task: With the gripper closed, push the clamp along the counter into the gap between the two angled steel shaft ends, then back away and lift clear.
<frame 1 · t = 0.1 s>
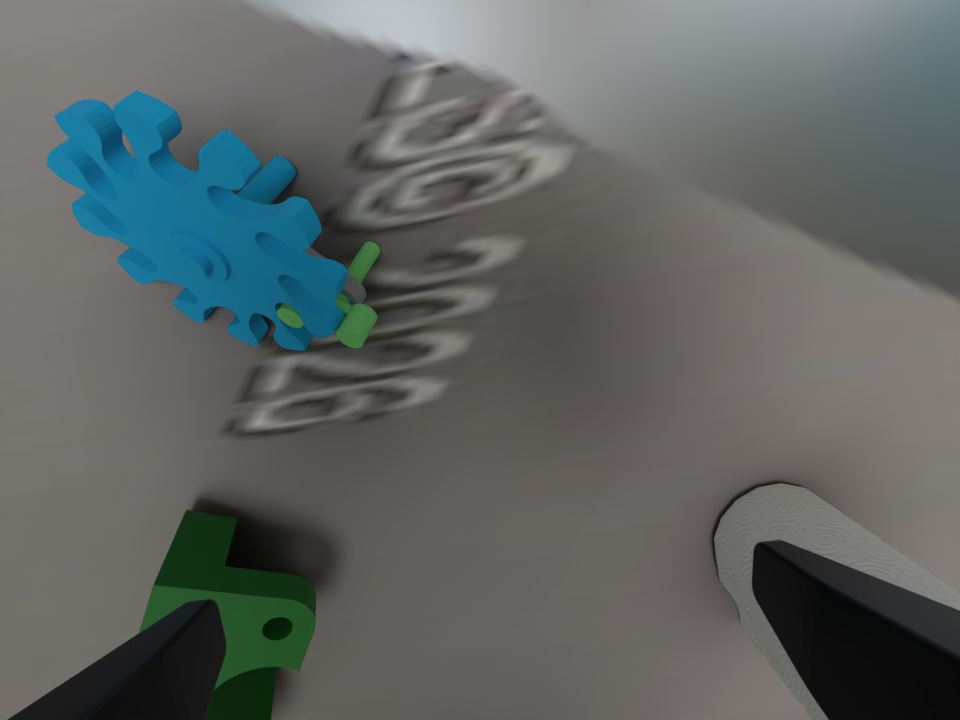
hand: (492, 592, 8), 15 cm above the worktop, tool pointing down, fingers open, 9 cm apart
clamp: (242, 609, 25), on the worktop
gear: (265, 252, 21), on the worktop
paper towel roll: (757, 540, 26), on the worktop
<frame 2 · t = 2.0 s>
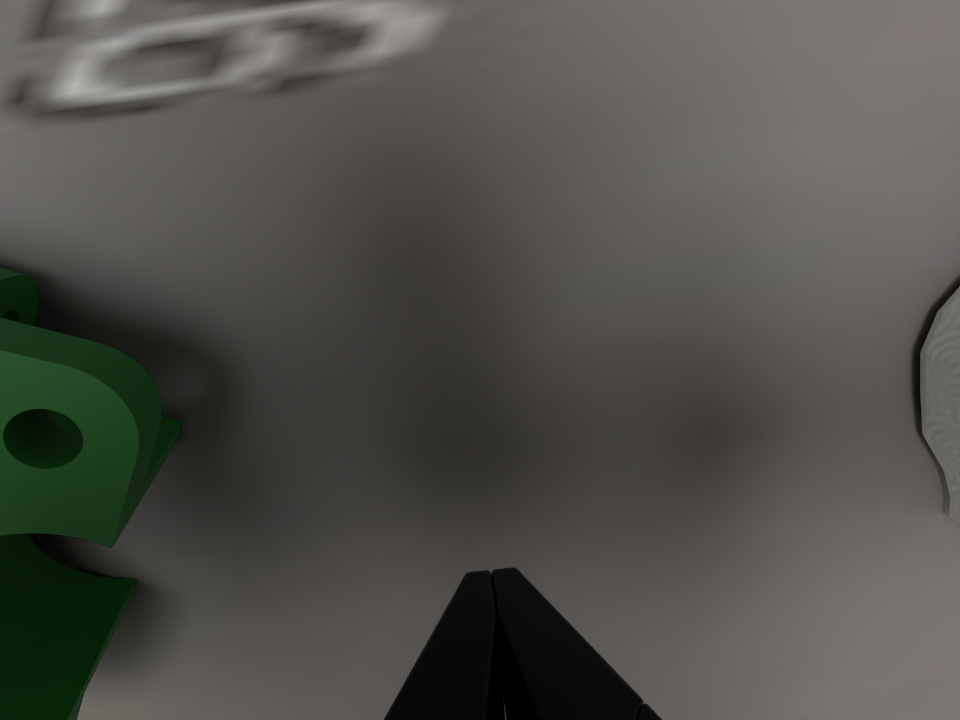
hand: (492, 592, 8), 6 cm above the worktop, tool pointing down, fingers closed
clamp: (70, 478, 14), on the worktop
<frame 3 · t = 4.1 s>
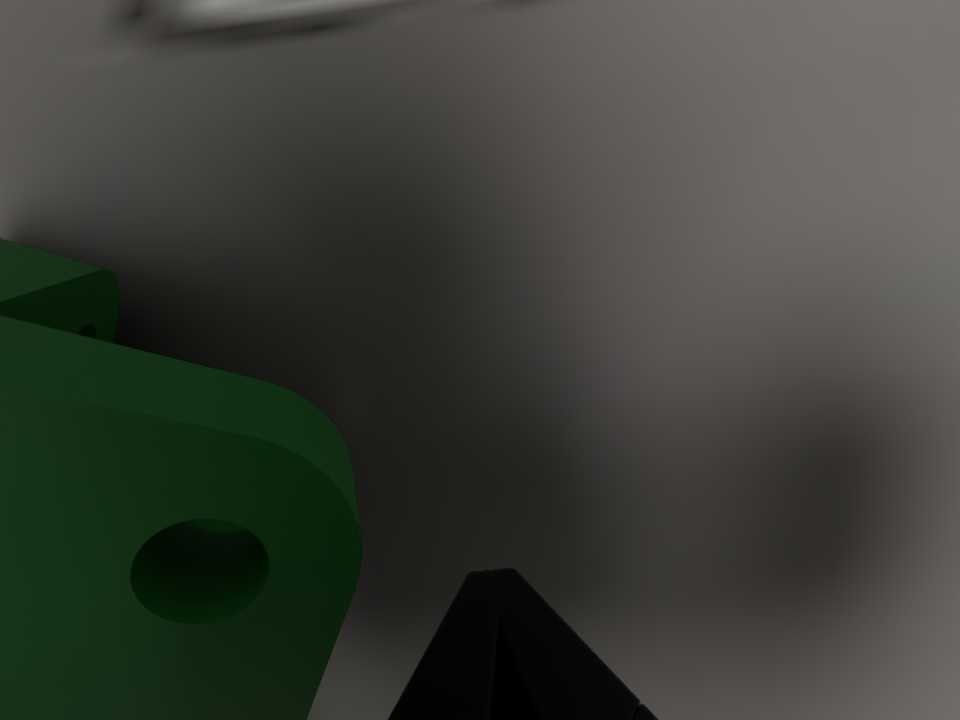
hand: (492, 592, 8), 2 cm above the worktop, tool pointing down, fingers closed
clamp: (154, 559, 10), on the worktop, touching gripper
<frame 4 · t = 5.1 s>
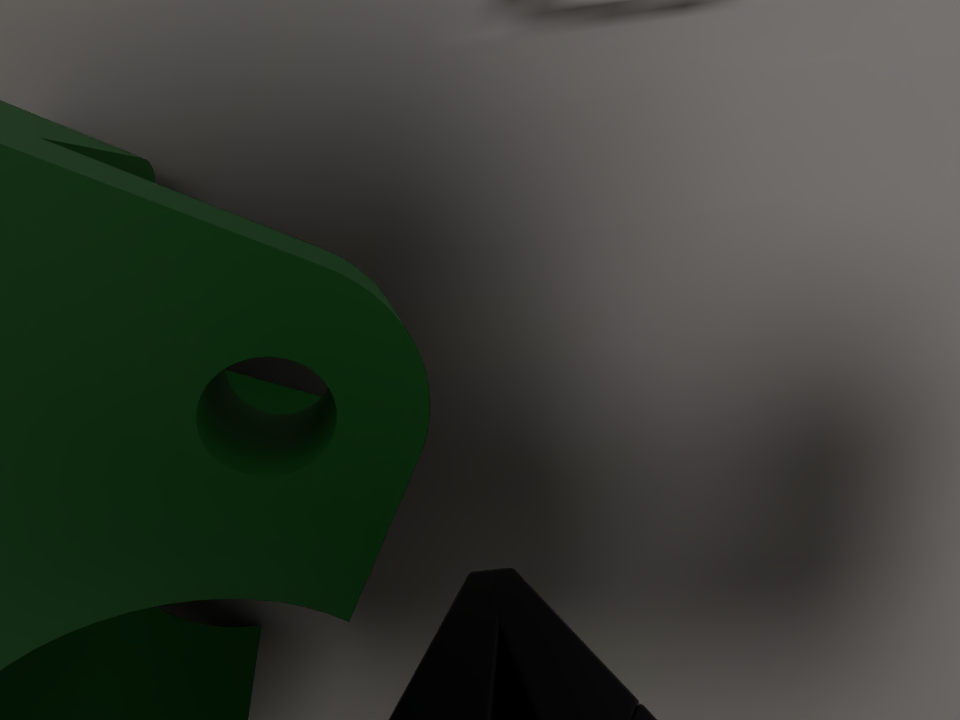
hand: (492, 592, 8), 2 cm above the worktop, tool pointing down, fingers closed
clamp: (175, 484, 10), on the worktop, touching gripper
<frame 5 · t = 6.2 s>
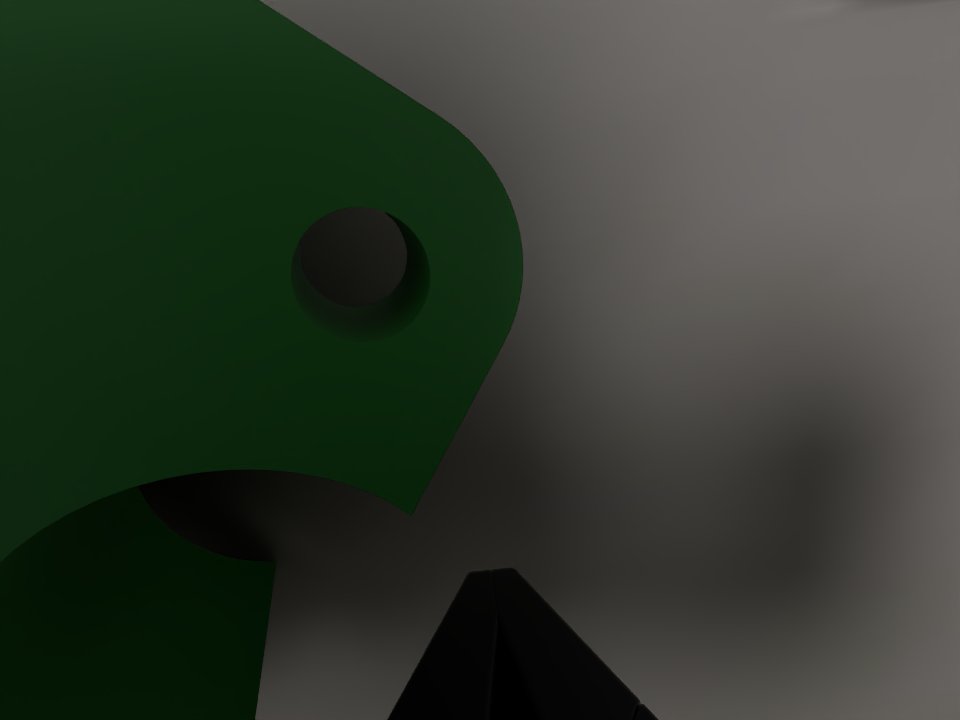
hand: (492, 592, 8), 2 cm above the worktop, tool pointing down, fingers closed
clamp: (202, 407, 9), on the worktop
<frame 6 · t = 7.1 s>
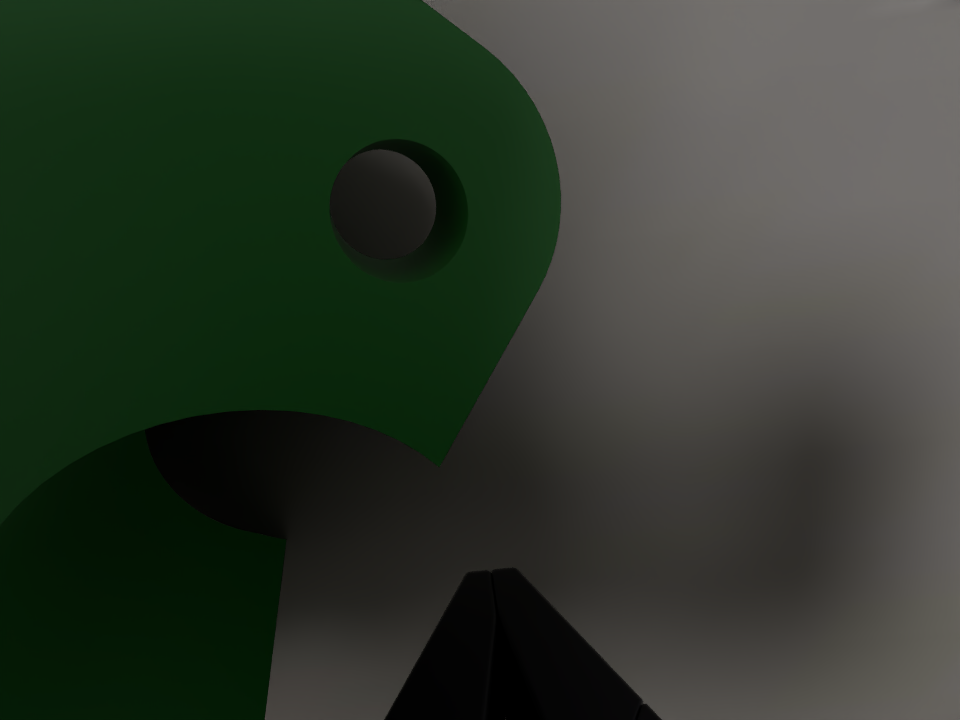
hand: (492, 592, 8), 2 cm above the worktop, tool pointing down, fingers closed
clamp: (215, 377, 9), on the worktop, touching gripper
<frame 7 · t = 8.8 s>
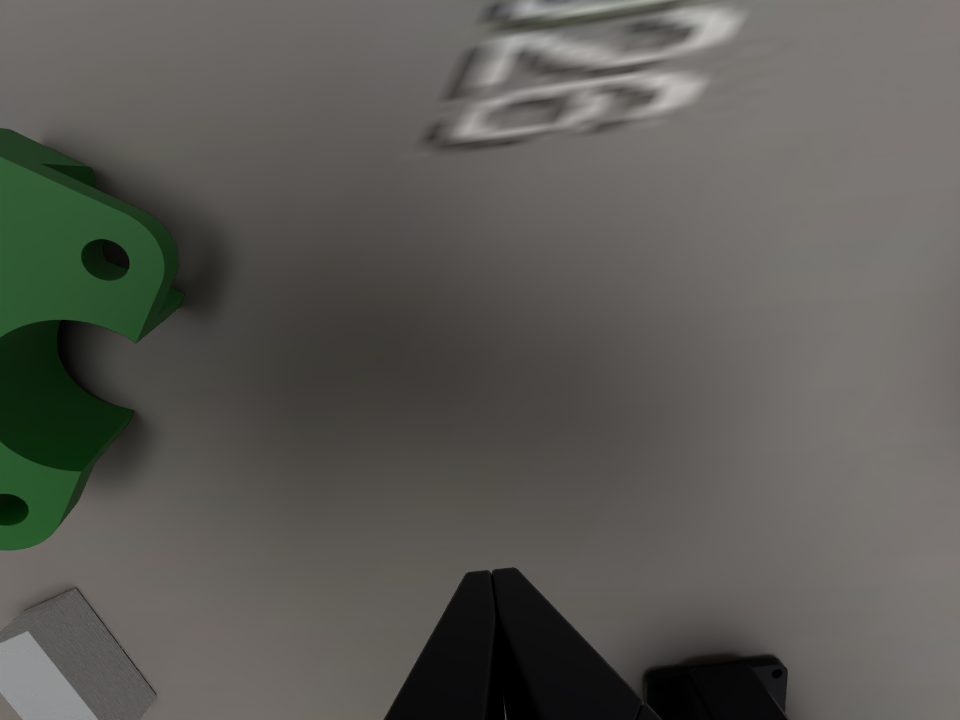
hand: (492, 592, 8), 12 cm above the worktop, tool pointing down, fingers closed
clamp: (96, 327, 19), on the worktop
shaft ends: (28, 432, 19), on the worktop
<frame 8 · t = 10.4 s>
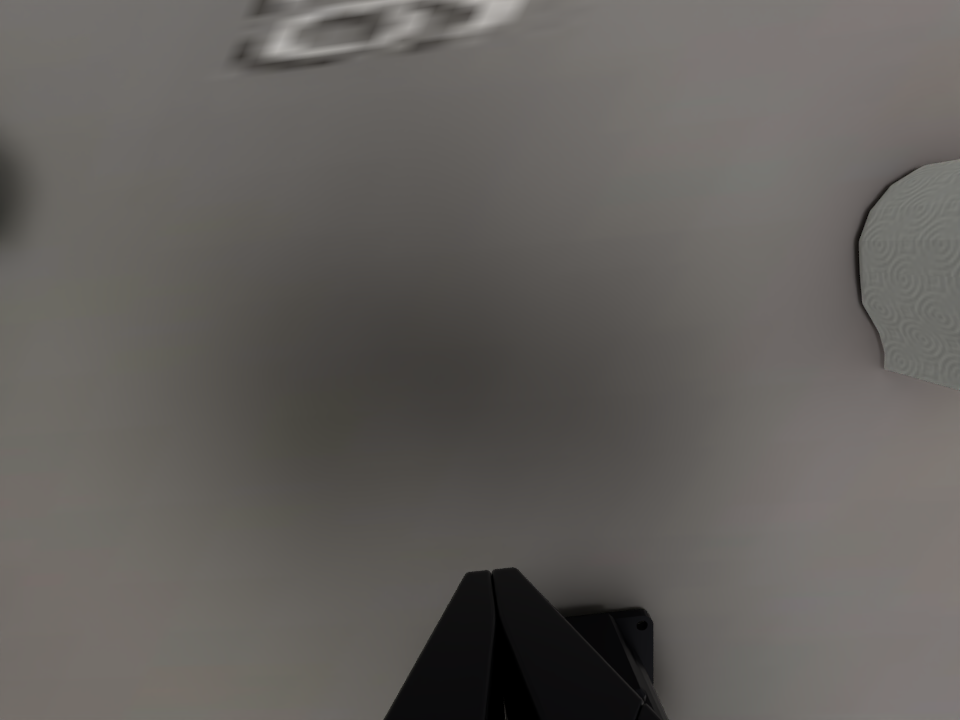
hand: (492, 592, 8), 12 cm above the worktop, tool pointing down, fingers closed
paper towel roll: (909, 253, 20), on the worktop
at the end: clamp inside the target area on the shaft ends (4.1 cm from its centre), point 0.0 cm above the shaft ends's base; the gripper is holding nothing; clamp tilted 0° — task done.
